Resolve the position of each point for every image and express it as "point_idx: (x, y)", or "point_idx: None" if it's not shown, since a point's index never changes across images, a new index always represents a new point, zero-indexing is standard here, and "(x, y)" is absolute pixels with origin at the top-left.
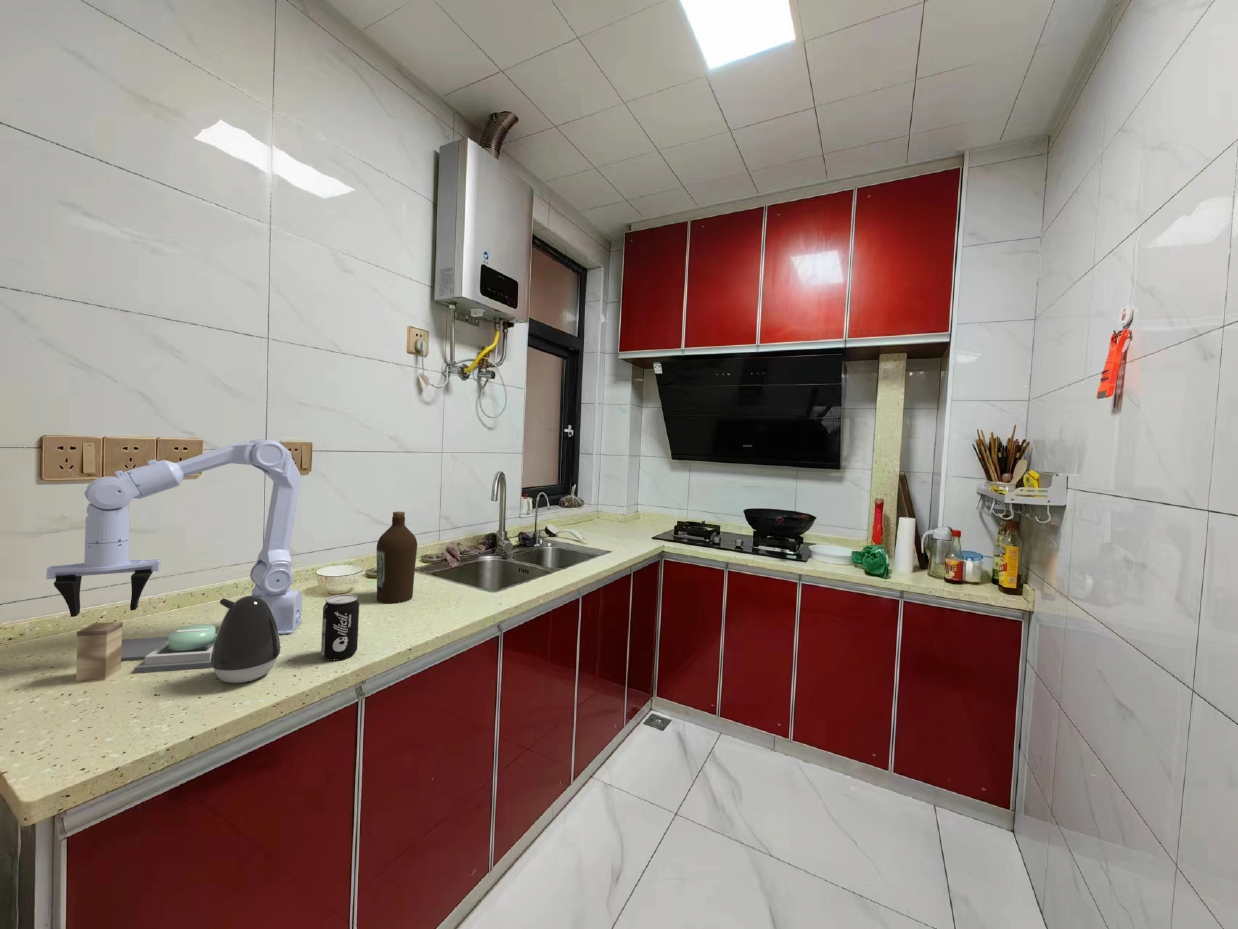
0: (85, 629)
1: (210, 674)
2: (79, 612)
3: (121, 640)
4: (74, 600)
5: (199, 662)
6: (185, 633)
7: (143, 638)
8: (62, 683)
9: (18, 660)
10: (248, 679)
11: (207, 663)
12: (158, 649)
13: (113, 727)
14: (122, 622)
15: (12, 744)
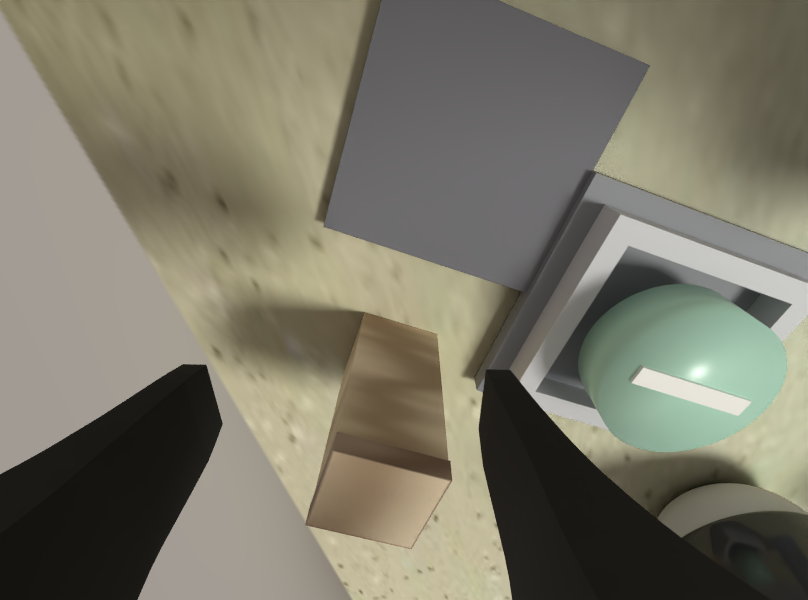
0: (327, 513)
1: (642, 466)
2: (205, 373)
3: (443, 408)
4: (157, 545)
5: None
6: (658, 408)
7: (482, 1)
8: (313, 363)
9: (40, 35)
10: None
11: None
12: (547, 351)
13: (464, 582)
14: (451, 480)
15: (336, 569)
